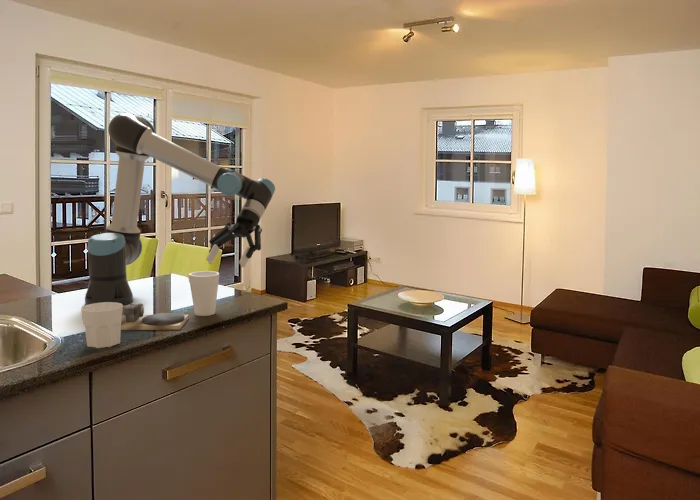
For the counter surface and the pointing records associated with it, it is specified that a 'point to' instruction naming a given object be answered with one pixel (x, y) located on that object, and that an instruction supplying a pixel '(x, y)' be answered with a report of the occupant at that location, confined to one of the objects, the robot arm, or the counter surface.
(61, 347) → the counter surface
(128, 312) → the shaft stand
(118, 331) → the cup
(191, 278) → the foam cup
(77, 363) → the counter surface
